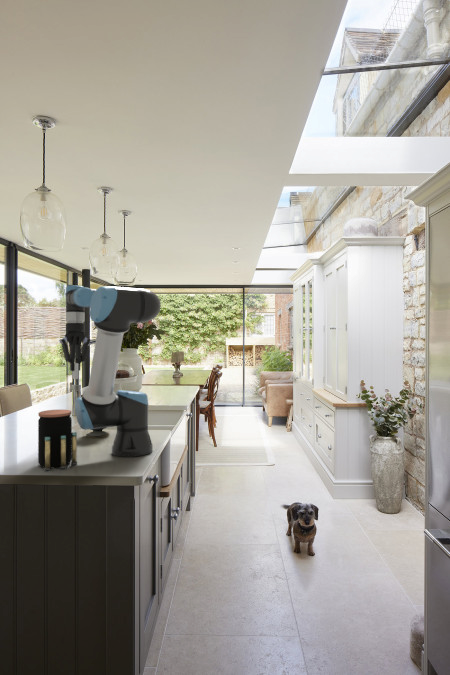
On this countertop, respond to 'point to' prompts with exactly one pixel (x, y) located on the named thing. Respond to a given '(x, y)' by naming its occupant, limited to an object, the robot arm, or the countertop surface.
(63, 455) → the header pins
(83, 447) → the countertop surface
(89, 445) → the countertop surface
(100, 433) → the apothecary jar
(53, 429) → the coffee jar
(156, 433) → the countertop surface
